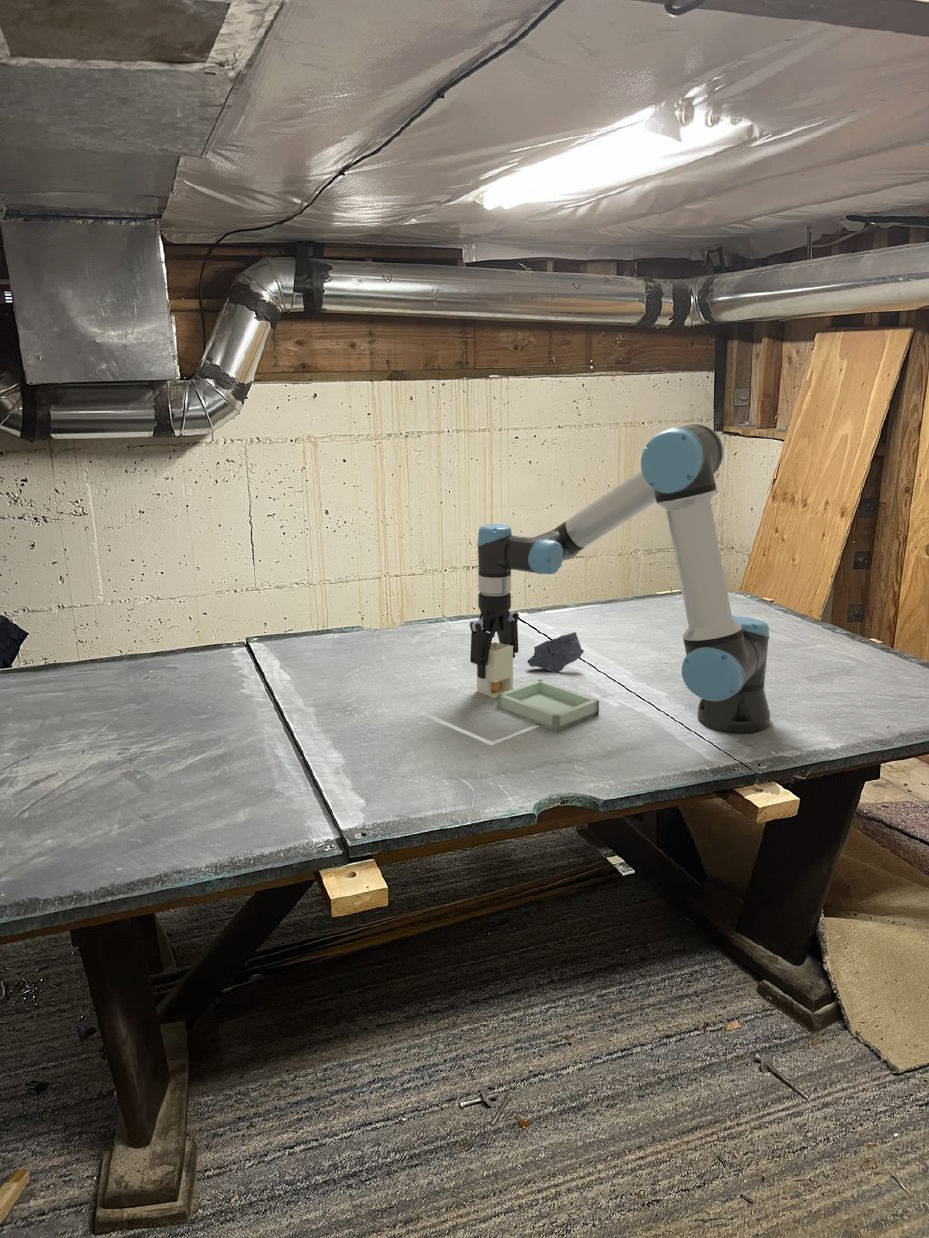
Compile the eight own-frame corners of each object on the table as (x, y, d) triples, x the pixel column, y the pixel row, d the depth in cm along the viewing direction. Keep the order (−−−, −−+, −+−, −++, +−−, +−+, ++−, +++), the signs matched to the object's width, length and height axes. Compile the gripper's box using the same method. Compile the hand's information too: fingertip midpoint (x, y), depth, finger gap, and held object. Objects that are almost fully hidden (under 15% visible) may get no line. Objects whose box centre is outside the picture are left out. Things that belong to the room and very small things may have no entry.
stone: (535, 678, 222) (536, 640, 219) (524, 671, 227) (525, 633, 224) (584, 671, 227) (585, 633, 224) (573, 663, 232) (573, 627, 229)
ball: (503, 689, 212) (501, 677, 211) (494, 693, 210) (492, 681, 209) (495, 688, 214) (493, 676, 214) (486, 692, 212) (484, 680, 212)
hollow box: (512, 694, 212) (512, 646, 209) (494, 700, 208) (494, 652, 205) (495, 687, 216) (495, 640, 213) (476, 694, 212) (476, 646, 209)
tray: (598, 714, 199) (599, 700, 198) (556, 732, 191) (556, 717, 190) (539, 693, 212) (539, 679, 211) (497, 709, 203) (497, 694, 202)
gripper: (512, 582, 214) (512, 673, 220) (452, 596, 202) (454, 692, 208) (535, 587, 208) (534, 680, 215) (475, 603, 196) (476, 701, 203)
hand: (494, 686), depth 212 cm, fingers closed on hollow box, 6 cm apart
